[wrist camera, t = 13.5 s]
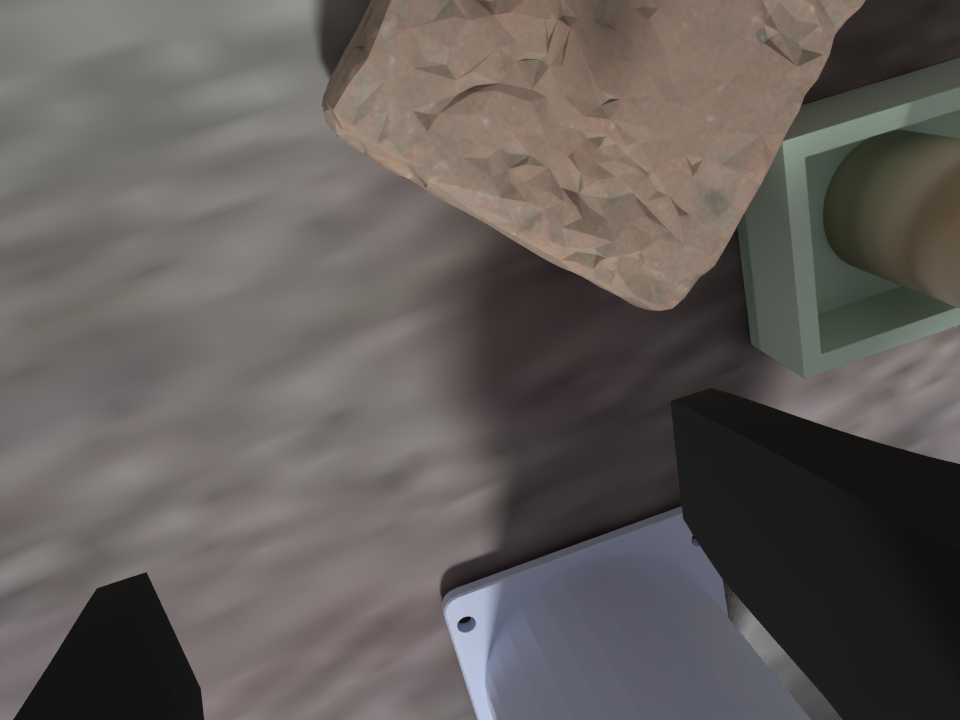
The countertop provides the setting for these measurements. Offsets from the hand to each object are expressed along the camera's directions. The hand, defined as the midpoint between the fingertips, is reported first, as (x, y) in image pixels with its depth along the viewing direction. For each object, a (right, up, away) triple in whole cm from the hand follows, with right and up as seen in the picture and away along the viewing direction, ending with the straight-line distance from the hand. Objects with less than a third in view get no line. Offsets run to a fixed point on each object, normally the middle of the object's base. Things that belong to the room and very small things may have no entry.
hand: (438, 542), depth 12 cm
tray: (+11, +7, +11) cm, 17 cm away
